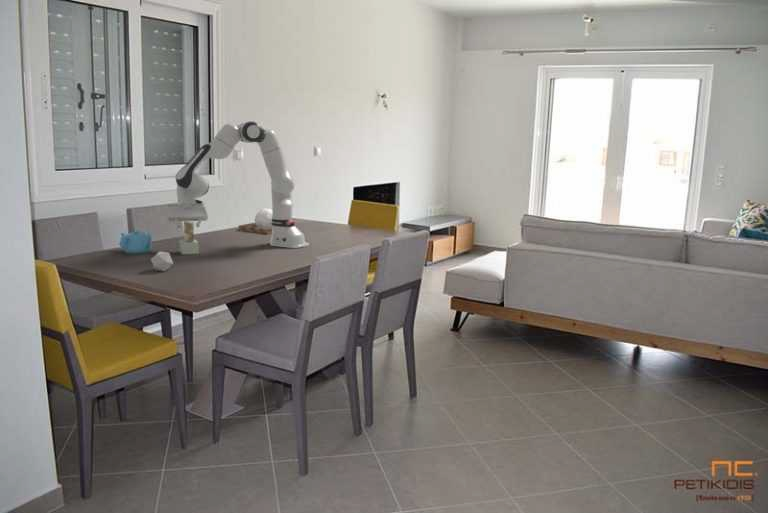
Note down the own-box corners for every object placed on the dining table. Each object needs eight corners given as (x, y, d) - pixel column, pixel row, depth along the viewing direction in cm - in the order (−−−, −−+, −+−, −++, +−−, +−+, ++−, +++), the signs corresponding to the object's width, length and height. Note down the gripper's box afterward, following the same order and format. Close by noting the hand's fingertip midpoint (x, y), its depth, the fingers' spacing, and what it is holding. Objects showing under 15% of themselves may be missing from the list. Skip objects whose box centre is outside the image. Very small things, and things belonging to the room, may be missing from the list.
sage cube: (195, 251, 336) (195, 239, 334) (198, 253, 329) (198, 242, 328) (179, 251, 332) (179, 240, 331) (182, 254, 325) (182, 243, 324)
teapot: (121, 248, 334) (120, 228, 332) (152, 248, 338) (152, 227, 336) (119, 254, 320) (118, 233, 317) (151, 253, 324) (151, 232, 322)
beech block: (193, 240, 332) (193, 221, 330) (193, 242, 328) (193, 222, 326) (184, 240, 330) (183, 221, 328) (184, 242, 326) (184, 222, 324)
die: (177, 271, 293) (172, 251, 296) (169, 265, 284) (164, 245, 287) (159, 277, 292) (154, 257, 296) (151, 271, 284) (146, 251, 287)
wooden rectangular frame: (293, 229, 411) (293, 225, 410) (268, 234, 391) (268, 229, 390) (263, 225, 423) (263, 221, 422) (238, 230, 402) (238, 225, 402)
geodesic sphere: (252, 218, 413) (254, 202, 403) (275, 217, 418) (277, 202, 407) (254, 235, 404) (256, 219, 394) (277, 234, 408) (279, 219, 398)
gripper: (165, 201, 332) (167, 223, 325) (206, 201, 339) (209, 222, 332) (165, 209, 337) (167, 230, 330) (206, 208, 344) (208, 229, 337)
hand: (188, 226), depth 331 cm, fingers open, 8 cm apart
